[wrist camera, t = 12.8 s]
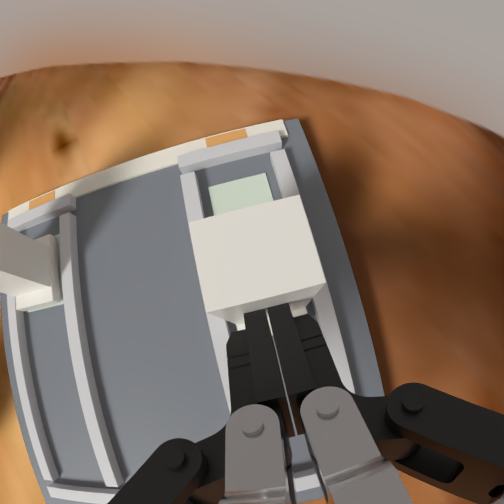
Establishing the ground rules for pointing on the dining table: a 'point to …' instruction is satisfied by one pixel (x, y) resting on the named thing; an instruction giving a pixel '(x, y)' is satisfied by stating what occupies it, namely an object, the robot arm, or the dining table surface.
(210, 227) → the tab
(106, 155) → the dining table surface
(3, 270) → the tab
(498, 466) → the robot arm
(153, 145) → the dining table surface
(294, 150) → the switch board
